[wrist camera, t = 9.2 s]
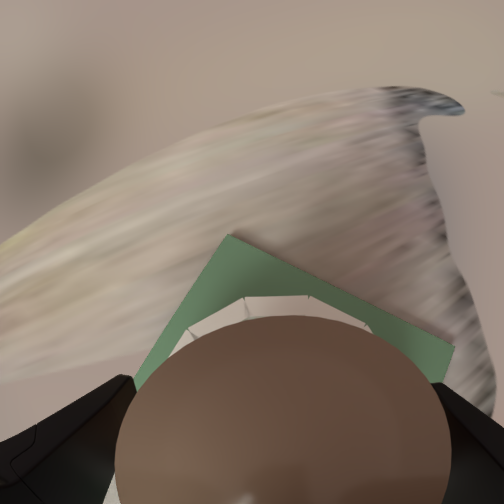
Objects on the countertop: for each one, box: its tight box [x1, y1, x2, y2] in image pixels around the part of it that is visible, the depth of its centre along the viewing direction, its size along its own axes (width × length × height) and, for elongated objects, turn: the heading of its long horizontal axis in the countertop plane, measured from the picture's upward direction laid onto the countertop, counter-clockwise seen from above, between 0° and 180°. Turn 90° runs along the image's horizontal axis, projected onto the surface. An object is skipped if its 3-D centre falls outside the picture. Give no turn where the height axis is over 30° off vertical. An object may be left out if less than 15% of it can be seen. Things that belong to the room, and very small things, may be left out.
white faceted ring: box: [168, 295, 373, 358], centre depth 14 cm, size 12×12×2 cm
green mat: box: [133, 234, 455, 392], centre depth 16 cm, size 16×16×1 cm
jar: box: [115, 315, 452, 504], centre depth 9 cm, size 6×6×13 cm
